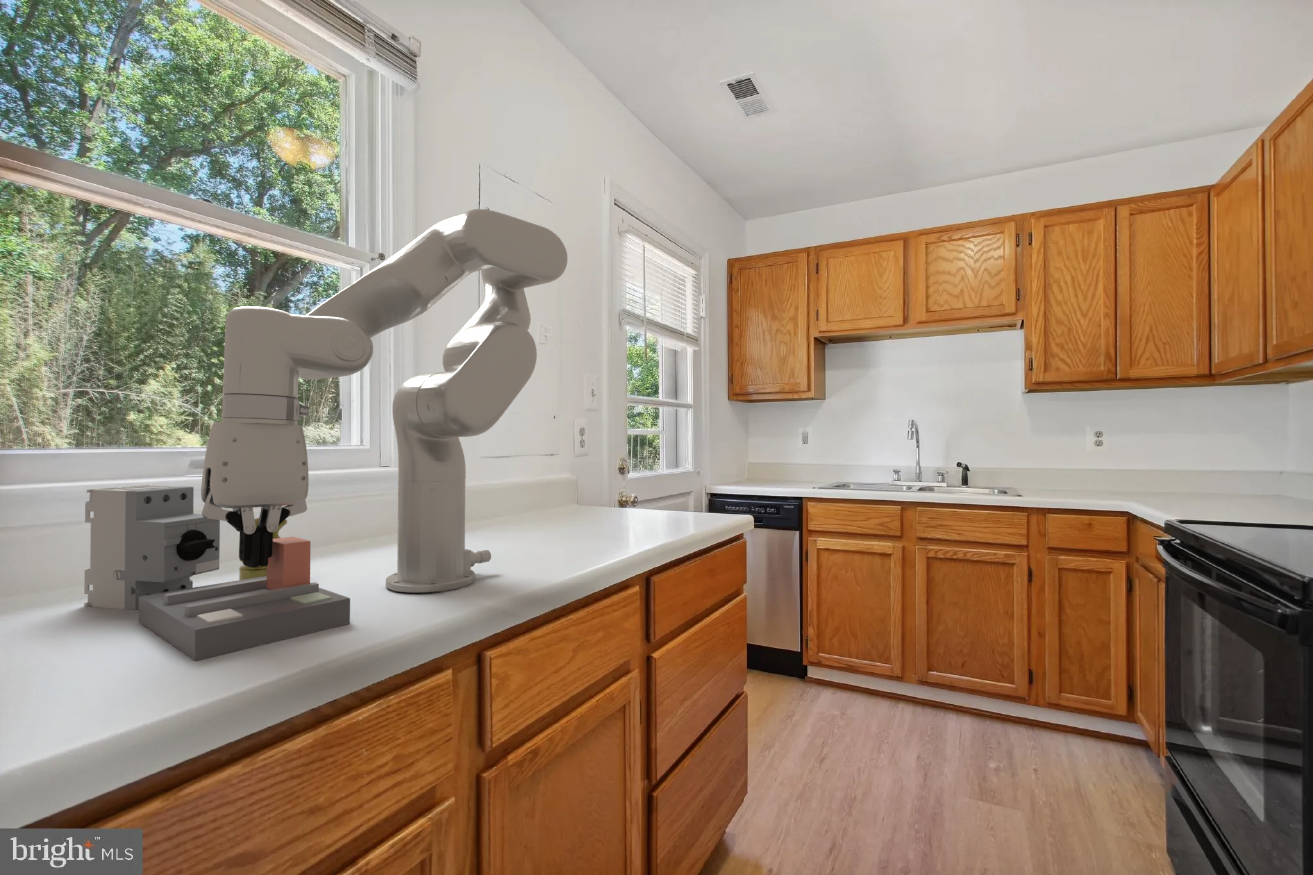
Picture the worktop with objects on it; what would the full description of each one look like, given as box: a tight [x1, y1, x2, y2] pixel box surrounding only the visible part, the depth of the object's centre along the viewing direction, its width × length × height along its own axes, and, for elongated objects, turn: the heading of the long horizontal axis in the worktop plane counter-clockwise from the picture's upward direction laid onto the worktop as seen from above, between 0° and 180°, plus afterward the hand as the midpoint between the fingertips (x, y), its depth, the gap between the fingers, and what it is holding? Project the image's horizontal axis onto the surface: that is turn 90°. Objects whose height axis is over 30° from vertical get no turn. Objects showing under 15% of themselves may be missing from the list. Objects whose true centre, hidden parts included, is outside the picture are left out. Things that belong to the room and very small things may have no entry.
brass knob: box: [238, 517, 288, 580], centre depth 92 cm, size 7×7×10 cm
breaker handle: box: [266, 536, 311, 590], centre depth 74 cm, size 3×5×6 cm, turn 53°
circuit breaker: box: [83, 484, 221, 611], centre depth 79 cm, size 8×14×15 cm, turn 78°
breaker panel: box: [138, 576, 351, 661], centre depth 70 cm, size 15×20×4 cm
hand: (255, 565), depth 71 cm, fingers closed
